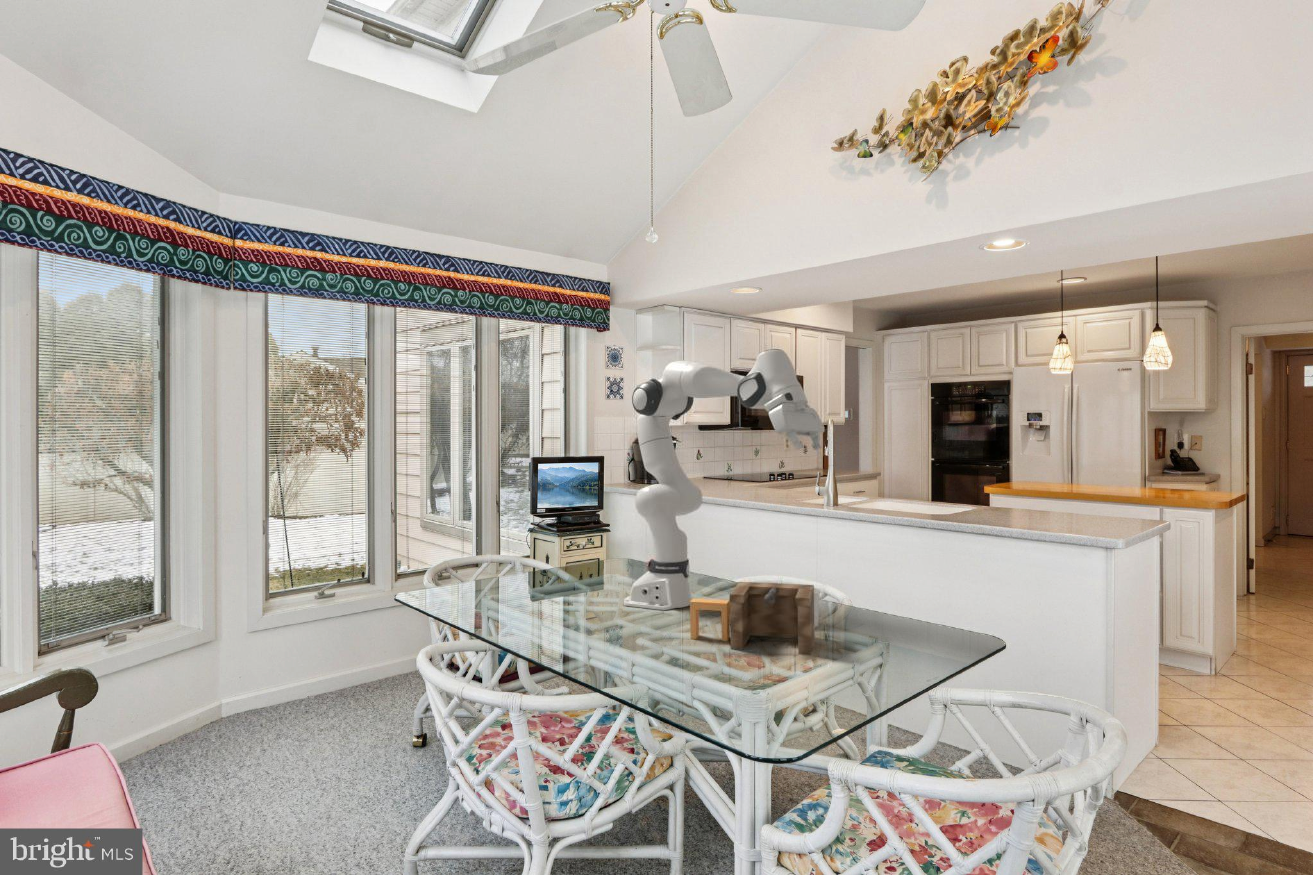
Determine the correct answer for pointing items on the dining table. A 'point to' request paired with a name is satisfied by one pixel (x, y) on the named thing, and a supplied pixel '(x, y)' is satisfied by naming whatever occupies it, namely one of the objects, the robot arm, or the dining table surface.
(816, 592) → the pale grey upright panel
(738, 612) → the notched shelf
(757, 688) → the dining table surface
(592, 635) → the dining table surface
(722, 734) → the dining table surface
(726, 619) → the wooden arch block
